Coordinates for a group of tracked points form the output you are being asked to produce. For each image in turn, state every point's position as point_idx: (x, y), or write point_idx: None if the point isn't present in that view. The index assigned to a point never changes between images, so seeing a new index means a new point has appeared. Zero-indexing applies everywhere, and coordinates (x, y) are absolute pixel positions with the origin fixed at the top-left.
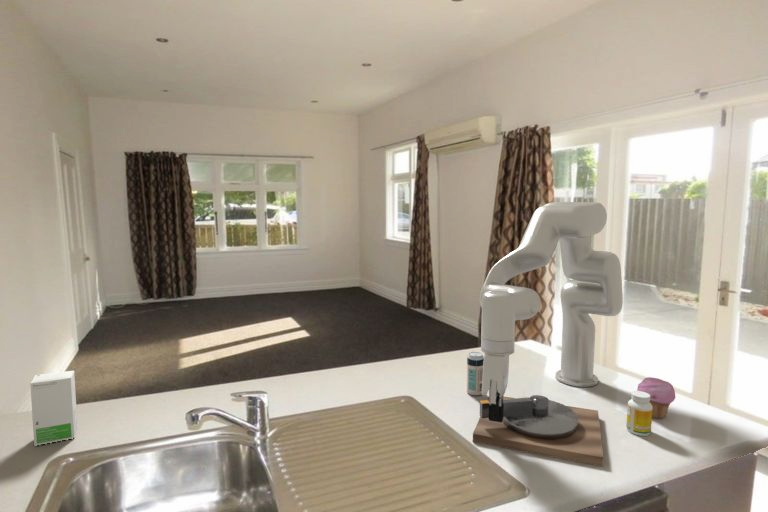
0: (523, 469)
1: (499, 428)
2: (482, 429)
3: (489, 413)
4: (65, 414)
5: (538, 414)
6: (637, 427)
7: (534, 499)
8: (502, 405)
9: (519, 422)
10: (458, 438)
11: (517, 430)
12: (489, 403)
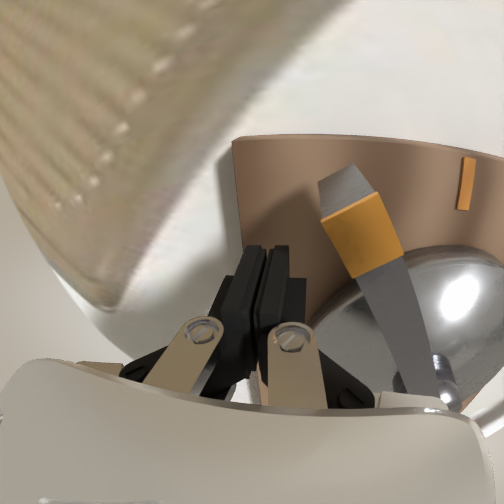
0: (167, 306)
1: (334, 246)
2: (295, 175)
3: (238, 270)
4: None
5: (394, 384)
6: None
7: (97, 317)
8: (244, 377)
9: (332, 340)
10: (240, 73)
11: (315, 316)
12: (180, 331)
